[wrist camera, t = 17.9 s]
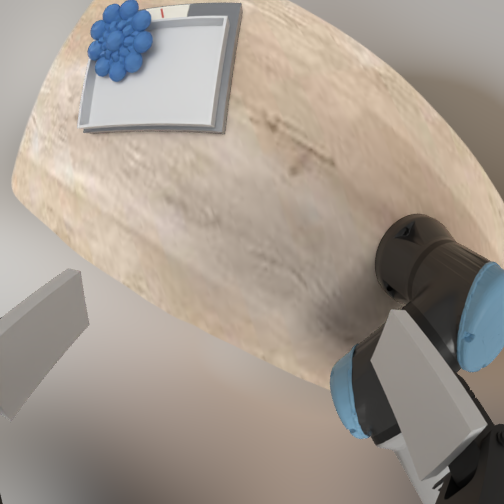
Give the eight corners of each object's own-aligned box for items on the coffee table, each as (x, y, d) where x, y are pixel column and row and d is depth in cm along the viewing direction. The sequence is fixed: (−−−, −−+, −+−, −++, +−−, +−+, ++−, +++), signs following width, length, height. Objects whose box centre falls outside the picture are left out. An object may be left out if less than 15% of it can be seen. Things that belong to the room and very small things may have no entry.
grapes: (183, 47, 29) (150, -11, 22) (161, 52, 25) (123, -15, 17) (123, 85, 34) (94, 31, 27) (98, 96, 29) (65, 37, 22)
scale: (242, 12, 30) (239, -8, 24) (224, 133, 36) (218, 129, 31) (114, 23, 30) (98, 10, 24) (93, 133, 36) (71, 132, 31)
